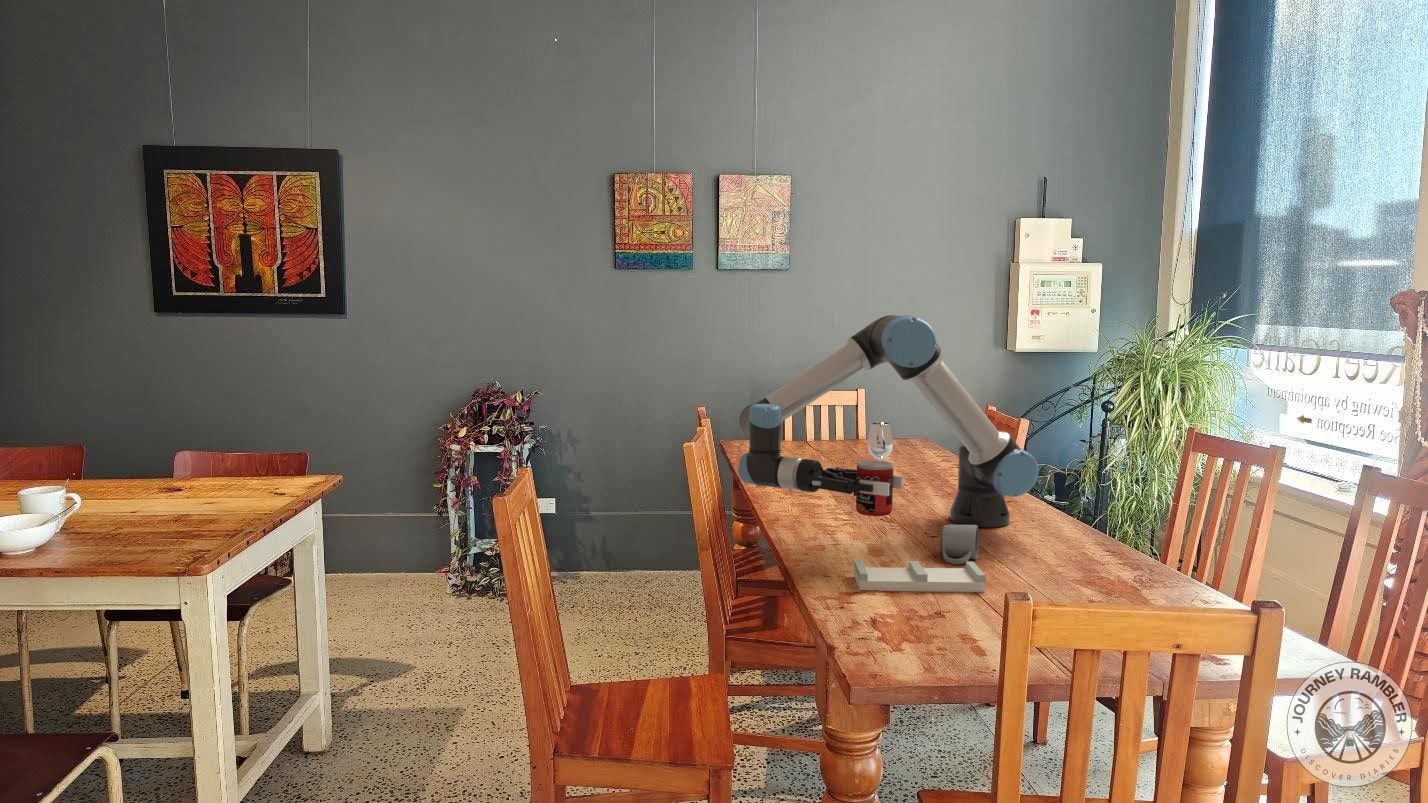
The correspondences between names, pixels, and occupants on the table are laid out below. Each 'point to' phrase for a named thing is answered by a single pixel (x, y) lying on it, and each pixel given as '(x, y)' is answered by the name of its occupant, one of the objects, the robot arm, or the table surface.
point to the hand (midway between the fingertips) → (895, 486)
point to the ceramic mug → (959, 543)
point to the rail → (911, 584)
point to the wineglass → (880, 440)
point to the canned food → (872, 502)
